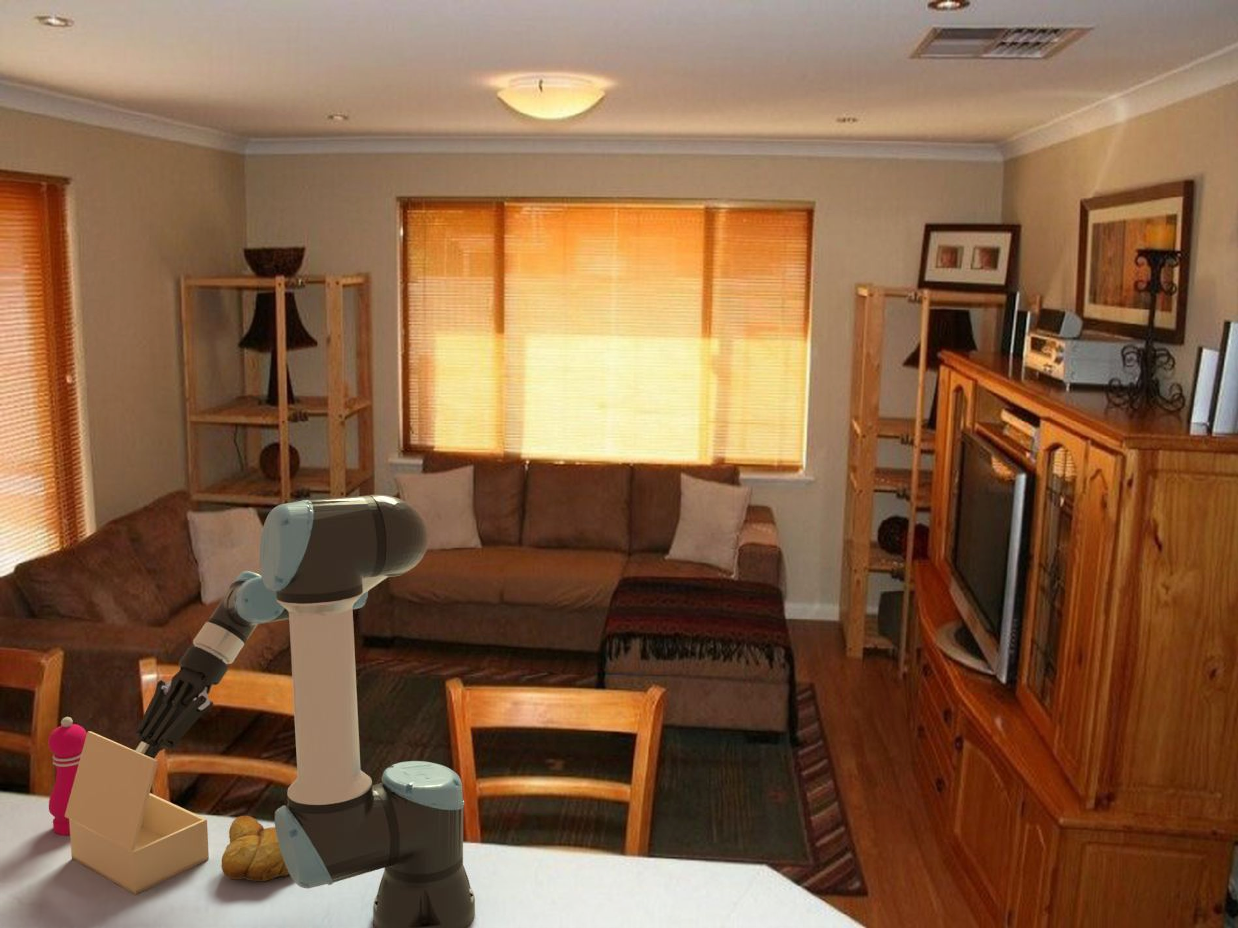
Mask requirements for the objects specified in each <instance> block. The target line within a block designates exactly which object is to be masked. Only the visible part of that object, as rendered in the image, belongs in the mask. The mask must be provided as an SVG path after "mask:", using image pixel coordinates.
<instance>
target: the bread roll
mask: <svg viewBox="0 0 1238 928" xmlns="http://www.w3.org/2000/svg"><path fill="white" fill-rule="evenodd" d="M229 827H230V828H229V830H228V835H229V836H228V837H229V843H228V844H227V845H226V847H225V849H224V852H223V854H222V856H221V871H222V872H223V874H224V875H226V876H227V877H228V878H230V879H233V880H243V879H247V880H248V881H255V882H266V881H269V880H272V879H274V878H276V877H286V876H288V875H290V874H289V872H288V870H287V867H286V865H285V863H284V860H283V857H282V854H281V851H280V847H279V843H278V839H277V835H276V829H275V826H274V827H266V828H264V826H263V825H262V824H261V823H260V822H259V821H258V820H257V819H256V818H254V817H252V816H250V815H240V816H238V817H236V818H235V819H234V820H233V821H232V822H231V825H230V826H229Z"/></svg>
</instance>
